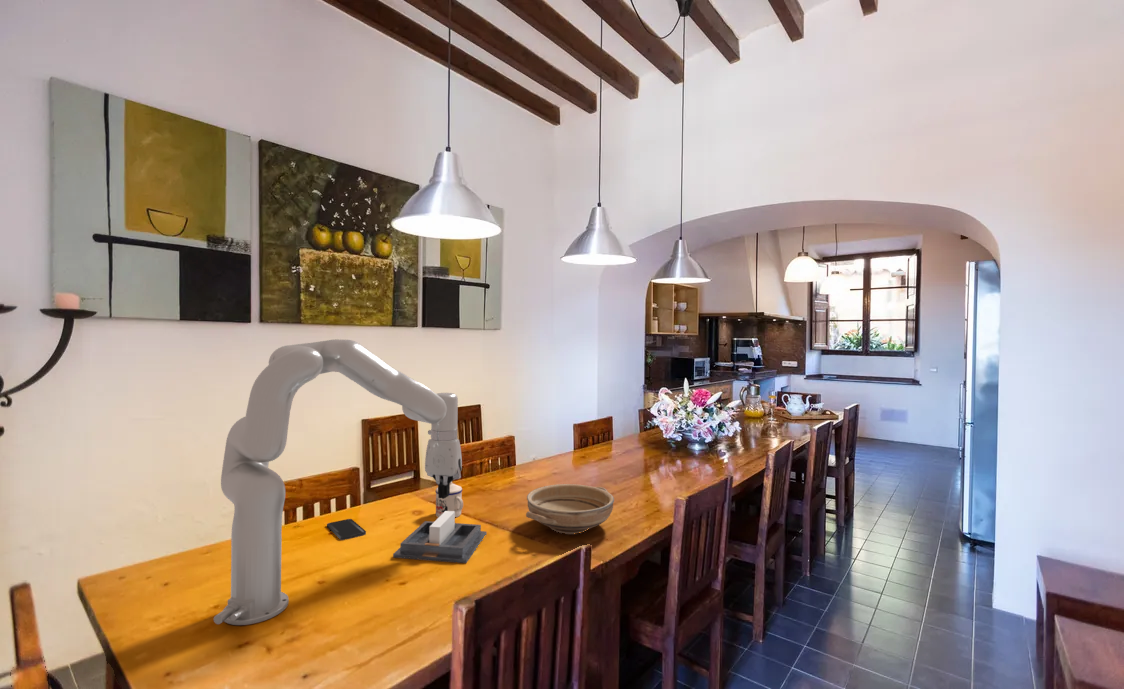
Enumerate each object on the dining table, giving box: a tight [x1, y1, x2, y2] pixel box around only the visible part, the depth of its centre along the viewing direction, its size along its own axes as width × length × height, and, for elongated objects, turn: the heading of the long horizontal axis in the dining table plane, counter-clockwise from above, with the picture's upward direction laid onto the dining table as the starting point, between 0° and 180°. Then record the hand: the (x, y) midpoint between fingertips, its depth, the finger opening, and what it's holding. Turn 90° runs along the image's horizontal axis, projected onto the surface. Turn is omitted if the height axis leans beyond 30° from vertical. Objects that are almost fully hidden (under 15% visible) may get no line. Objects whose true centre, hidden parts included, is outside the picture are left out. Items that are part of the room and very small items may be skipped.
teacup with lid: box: [435, 481, 464, 519], centre depth 172 cm, size 12×9×12 cm
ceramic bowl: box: [525, 483, 615, 535], centre depth 164 cm, size 37×29×10 cm
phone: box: [326, 518, 367, 541], centre depth 158 cm, size 8×1×15 cm
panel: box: [429, 511, 456, 545], centre depth 147 cm, size 13×3×7 cm, turn 174°
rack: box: [392, 520, 487, 564], centre depth 147 cm, size 20×21×4 cm
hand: (443, 497), depth 147 cm, fingers closed
